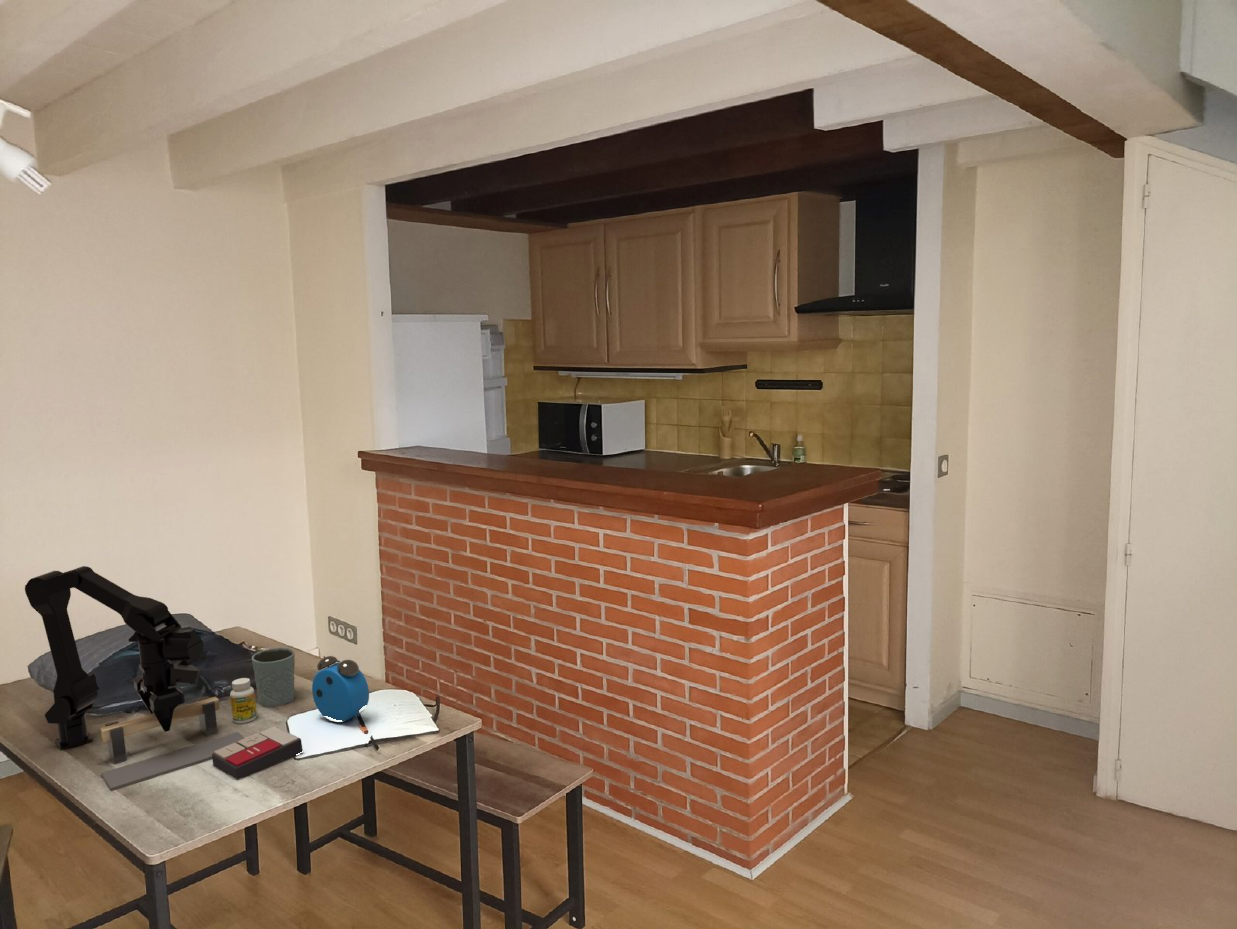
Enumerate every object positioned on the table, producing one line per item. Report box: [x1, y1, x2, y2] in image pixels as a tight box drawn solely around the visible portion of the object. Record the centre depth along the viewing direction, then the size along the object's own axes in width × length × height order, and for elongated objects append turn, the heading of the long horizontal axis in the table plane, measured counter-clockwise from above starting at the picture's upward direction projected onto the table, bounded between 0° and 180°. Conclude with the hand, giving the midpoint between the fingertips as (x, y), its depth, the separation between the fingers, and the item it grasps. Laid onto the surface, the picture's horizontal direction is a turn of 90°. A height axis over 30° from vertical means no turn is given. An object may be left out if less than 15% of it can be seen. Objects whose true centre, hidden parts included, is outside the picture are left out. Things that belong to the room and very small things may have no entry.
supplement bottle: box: [229, 677, 258, 724], centre depth 217 cm, size 5×5×10 cm
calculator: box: [211, 726, 304, 781], centre depth 196 cm, size 11×4×15 cm
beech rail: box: [99, 696, 221, 743], centre depth 204 cm, size 2×24×2 cm, turn 131°
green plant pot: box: [251, 647, 296, 708], centre depth 227 cm, size 10×10×12 cm
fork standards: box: [104, 696, 219, 765], centre depth 205 cm, size 5×21×8 cm, turn 130°
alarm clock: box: [311, 655, 370, 722], centre depth 214 cm, size 13×6×15 cm, turn 60°
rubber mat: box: [100, 731, 245, 791], centre depth 197 cm, size 9×28×1 cm, turn 130°
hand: (162, 726), depth 204 cm, fingers open, 7 cm apart
